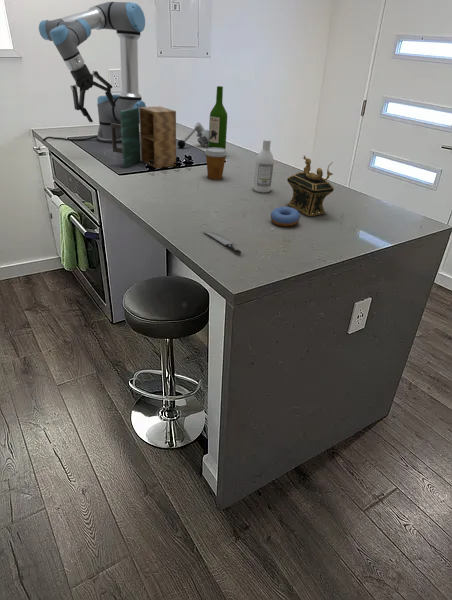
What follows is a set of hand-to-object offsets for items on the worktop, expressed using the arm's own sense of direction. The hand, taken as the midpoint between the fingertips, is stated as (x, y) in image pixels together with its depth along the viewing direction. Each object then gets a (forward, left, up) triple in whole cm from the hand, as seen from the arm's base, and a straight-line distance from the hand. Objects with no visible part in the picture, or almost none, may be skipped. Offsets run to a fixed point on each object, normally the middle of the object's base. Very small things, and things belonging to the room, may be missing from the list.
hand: (102, 113), depth 200 cm
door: (+10, -11, -19) cm, 25 cm away
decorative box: (+81, -71, -20) cm, 110 cm away
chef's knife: (+46, -101, -20) cm, 112 cm away
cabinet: (+25, -9, -20) cm, 33 cm away
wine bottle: (+55, +12, -20) cm, 60 cm away
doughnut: (+69, -83, -20) cm, 110 cm away
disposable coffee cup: (+50, -30, -20) cm, 62 cm away
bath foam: (+68, -47, -20) cm, 85 cm away
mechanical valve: (+45, +29, -20) cm, 57 cm away
